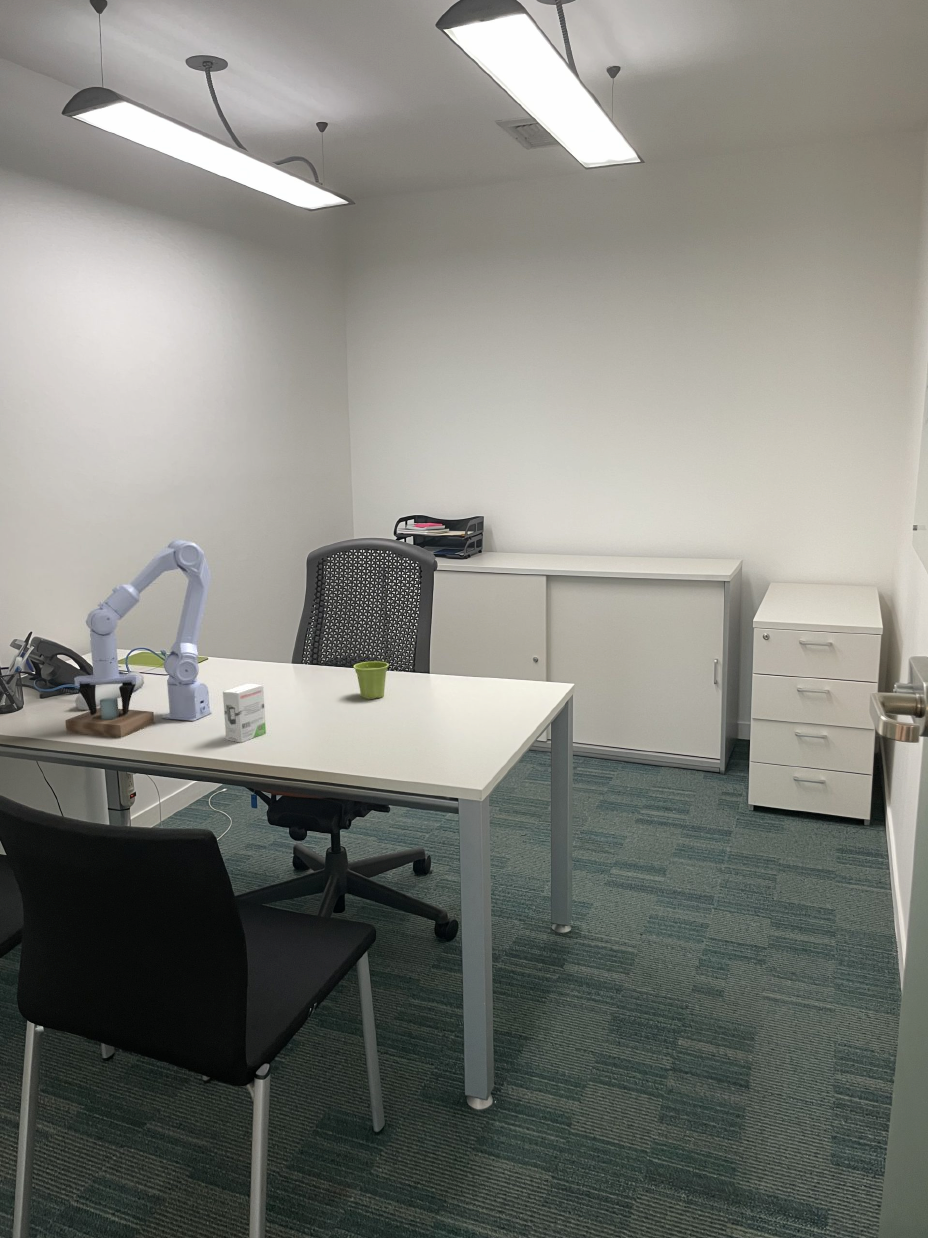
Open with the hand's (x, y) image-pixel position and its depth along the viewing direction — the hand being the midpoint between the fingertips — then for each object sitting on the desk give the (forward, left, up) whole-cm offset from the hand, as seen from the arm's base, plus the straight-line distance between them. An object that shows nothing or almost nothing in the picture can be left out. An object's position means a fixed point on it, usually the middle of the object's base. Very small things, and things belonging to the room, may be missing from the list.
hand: (109, 713), depth 223 cm
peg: (0, 0, -4) cm, 4 cm away
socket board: (0, 0, -4) cm, 4 cm away
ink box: (-36, -3, -4) cm, 36 cm away
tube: (+19, -22, -4) cm, 30 cm away
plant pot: (-49, -44, -4) cm, 66 cm away
